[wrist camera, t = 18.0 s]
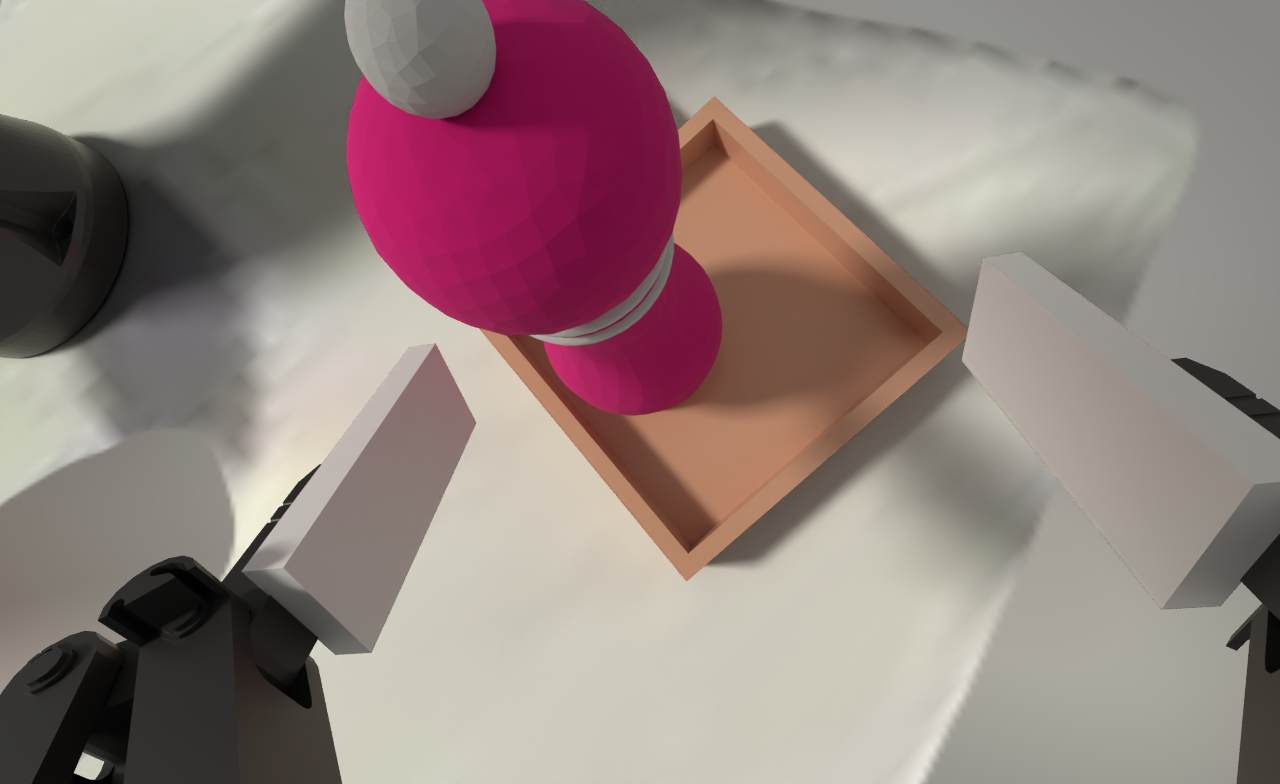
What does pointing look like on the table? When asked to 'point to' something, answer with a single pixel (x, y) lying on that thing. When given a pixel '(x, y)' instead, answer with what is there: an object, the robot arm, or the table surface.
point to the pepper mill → (532, 188)
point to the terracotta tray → (755, 350)
